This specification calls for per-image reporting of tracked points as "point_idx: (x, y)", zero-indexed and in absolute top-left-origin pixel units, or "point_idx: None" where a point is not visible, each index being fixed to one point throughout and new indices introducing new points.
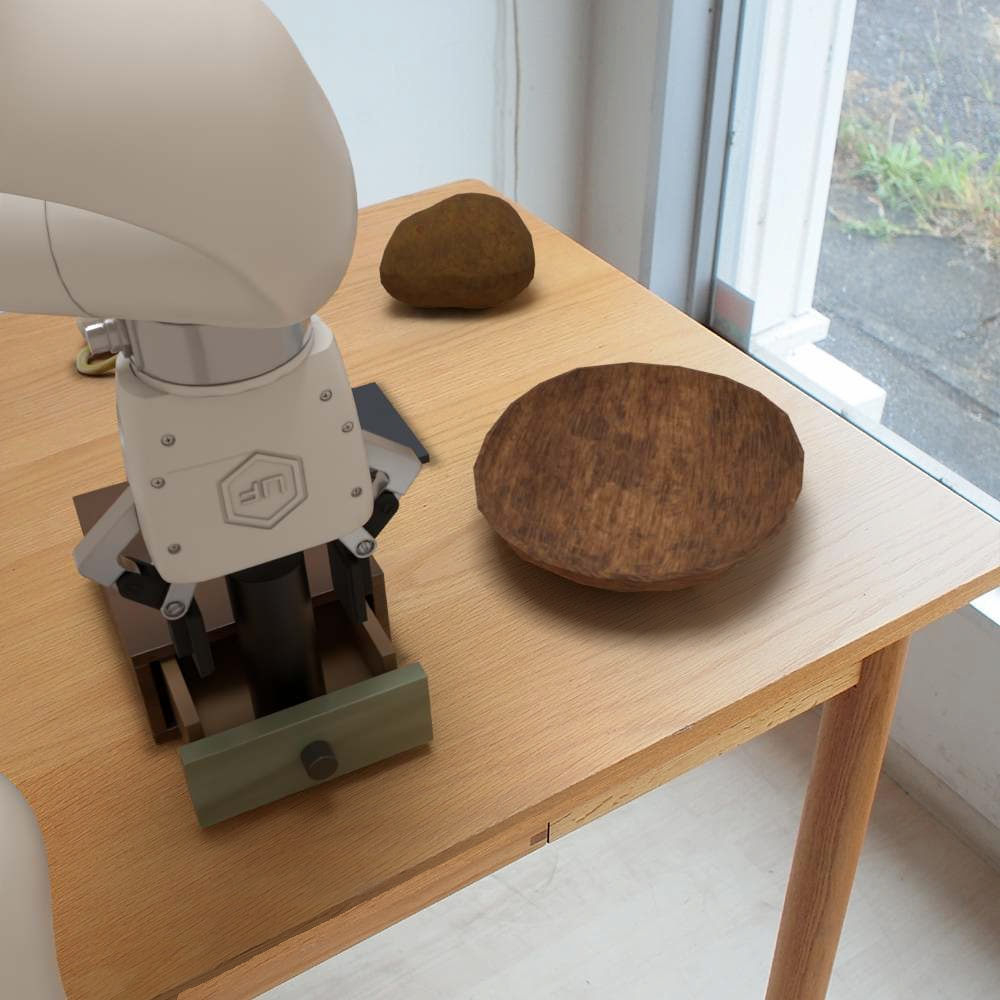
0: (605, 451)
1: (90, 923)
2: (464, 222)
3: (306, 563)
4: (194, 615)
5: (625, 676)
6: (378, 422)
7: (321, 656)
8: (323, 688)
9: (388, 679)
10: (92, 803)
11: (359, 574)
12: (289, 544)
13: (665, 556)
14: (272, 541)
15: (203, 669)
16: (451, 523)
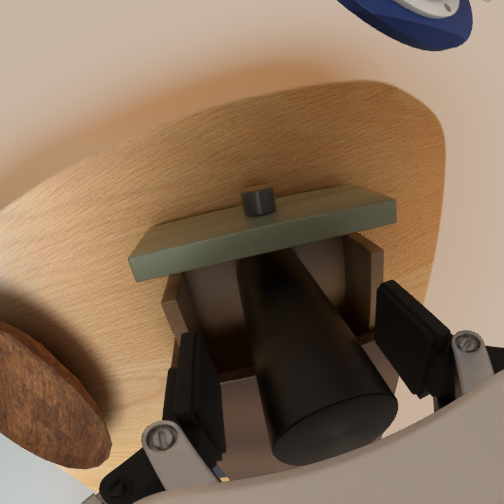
0: (54, 422)
1: (413, 142)
2: None
3: (241, 409)
4: (441, 338)
5: (23, 265)
6: None
7: (235, 329)
8: (242, 281)
9: (171, 263)
10: (402, 238)
11: (178, 395)
12: (350, 489)
13: (12, 349)
14: (401, 492)
15: (396, 285)
16: (137, 411)
